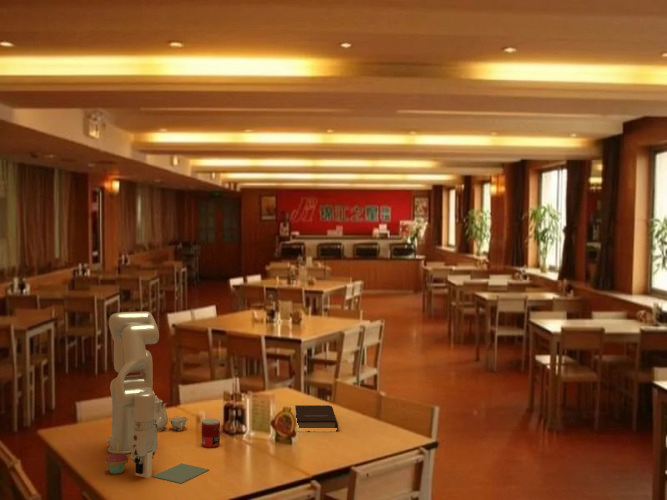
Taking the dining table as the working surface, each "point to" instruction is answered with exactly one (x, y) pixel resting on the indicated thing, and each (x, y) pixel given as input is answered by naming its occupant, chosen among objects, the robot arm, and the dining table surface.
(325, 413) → the book
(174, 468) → the mat
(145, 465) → the slab
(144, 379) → the robot arm
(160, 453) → the dining table surface
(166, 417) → the chinaware
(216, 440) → the canned food
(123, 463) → the cupcake
